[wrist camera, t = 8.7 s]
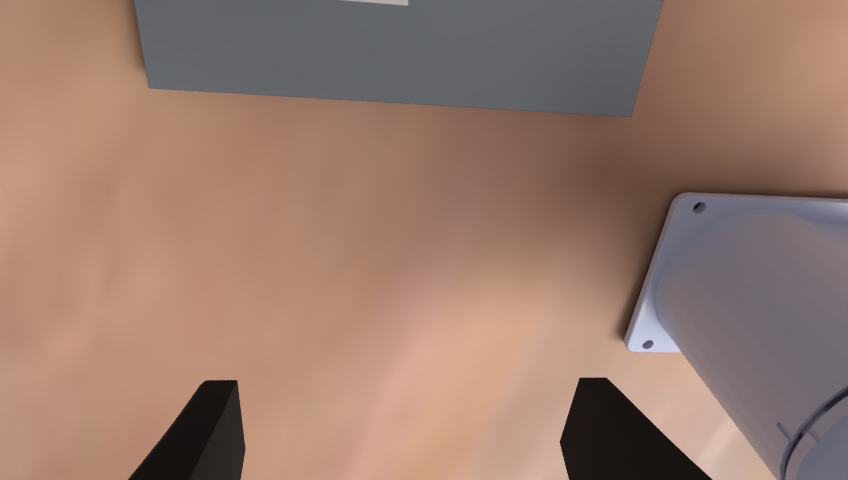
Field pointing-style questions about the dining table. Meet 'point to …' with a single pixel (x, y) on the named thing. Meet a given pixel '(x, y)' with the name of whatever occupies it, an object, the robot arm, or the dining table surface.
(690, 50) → the dining table surface
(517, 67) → the gray board
